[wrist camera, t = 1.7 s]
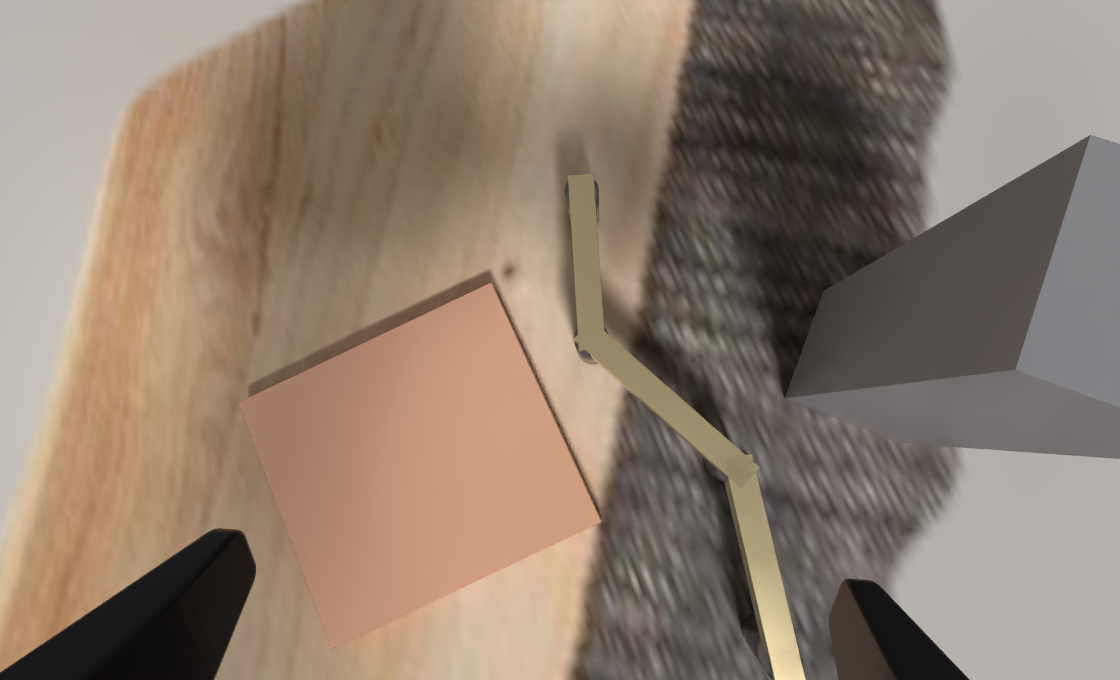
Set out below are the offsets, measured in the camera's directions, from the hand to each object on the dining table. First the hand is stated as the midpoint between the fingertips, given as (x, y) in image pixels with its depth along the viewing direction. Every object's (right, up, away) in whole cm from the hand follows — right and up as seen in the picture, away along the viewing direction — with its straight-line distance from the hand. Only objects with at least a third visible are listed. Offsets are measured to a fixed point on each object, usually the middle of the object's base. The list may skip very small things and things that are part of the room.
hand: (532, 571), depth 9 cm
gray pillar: (+12, +2, +14) cm, 19 cm away
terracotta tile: (-5, -1, +15) cm, 16 cm away
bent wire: (+5, +1, +14) cm, 15 cm away
